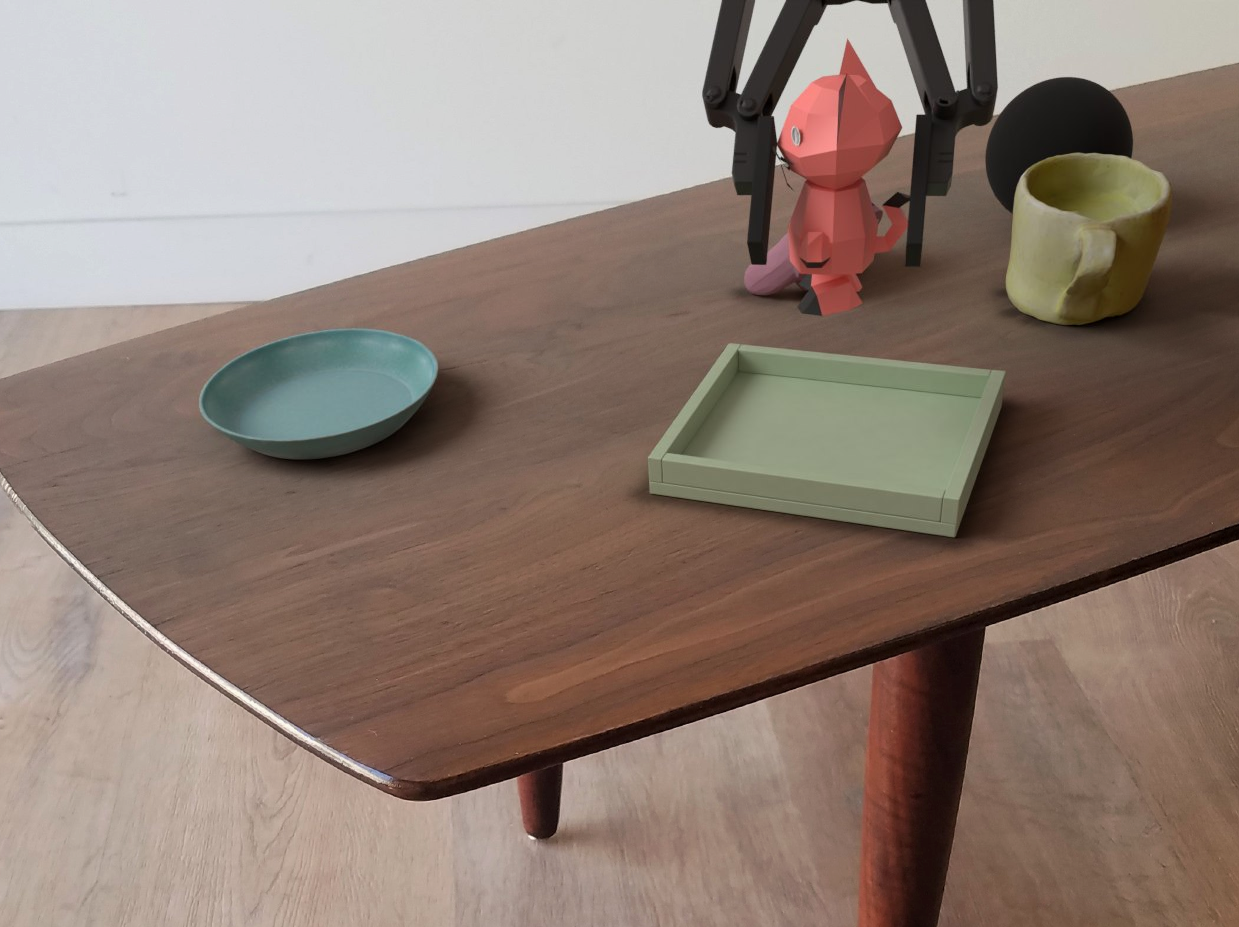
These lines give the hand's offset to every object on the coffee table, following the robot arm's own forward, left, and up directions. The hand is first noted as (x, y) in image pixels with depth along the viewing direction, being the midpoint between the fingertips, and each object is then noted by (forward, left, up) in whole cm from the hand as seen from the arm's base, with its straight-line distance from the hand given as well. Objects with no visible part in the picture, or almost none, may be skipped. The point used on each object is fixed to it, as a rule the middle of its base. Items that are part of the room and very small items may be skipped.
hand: (834, 254), depth 68 cm
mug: (-10, -25, -13) cm, 30 cm away
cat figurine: (+1, -3, -4) cm, 5 cm away
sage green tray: (+1, -3, -13) cm, 13 cm away
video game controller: (+8, -26, -13) cm, 30 cm away
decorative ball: (-6, -40, -13) cm, 43 cm away
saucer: (+32, +1, -13) cm, 34 cm away
